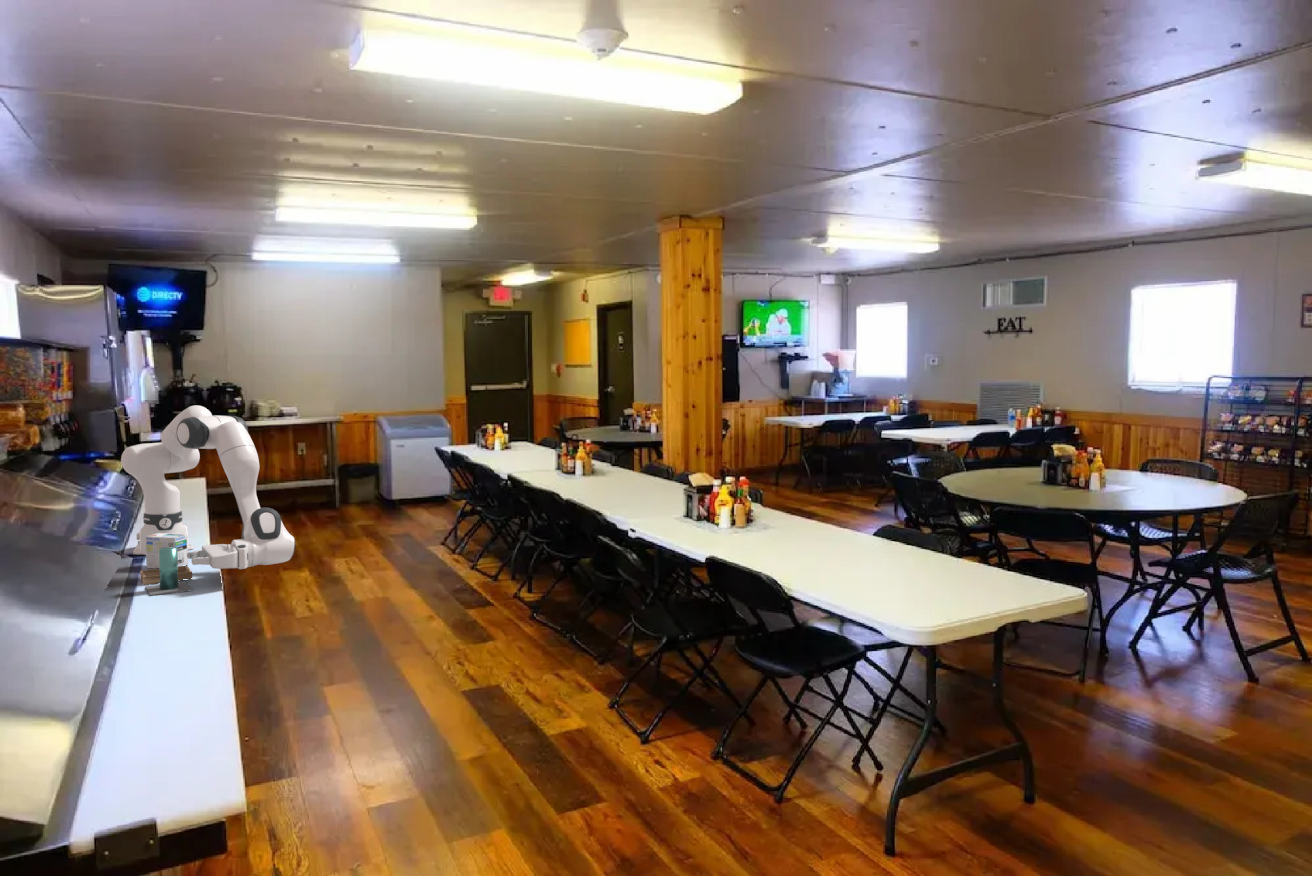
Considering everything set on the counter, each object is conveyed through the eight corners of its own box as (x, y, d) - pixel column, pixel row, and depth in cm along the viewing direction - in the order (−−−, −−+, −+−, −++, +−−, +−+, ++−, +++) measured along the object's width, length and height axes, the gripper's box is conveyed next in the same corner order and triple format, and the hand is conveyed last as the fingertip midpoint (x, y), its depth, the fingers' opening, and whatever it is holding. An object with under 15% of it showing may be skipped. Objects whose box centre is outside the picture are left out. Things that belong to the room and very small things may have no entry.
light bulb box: (189, 565, 287) (188, 533, 286) (176, 569, 280) (175, 537, 279) (159, 563, 288) (158, 532, 287) (145, 568, 281) (144, 535, 281)
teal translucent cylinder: (158, 587, 257) (157, 547, 256) (176, 584, 260) (176, 545, 259) (160, 590, 253) (160, 550, 252) (179, 588, 256) (178, 548, 255)
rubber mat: (145, 587, 258) (145, 586, 258) (186, 582, 264) (186, 581, 264) (149, 595, 249) (149, 594, 249) (192, 590, 255) (192, 589, 255)
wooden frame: (140, 578, 268) (140, 570, 268) (187, 573, 276) (187, 565, 276) (144, 585, 260) (143, 577, 260) (192, 579, 268) (192, 571, 268)
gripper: (232, 537, 275) (184, 542, 267) (246, 549, 259) (194, 554, 251) (233, 557, 276) (184, 562, 268) (246, 569, 259) (195, 575, 251)
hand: (189, 558), depth 259 cm, fingers open, 8 cm apart
